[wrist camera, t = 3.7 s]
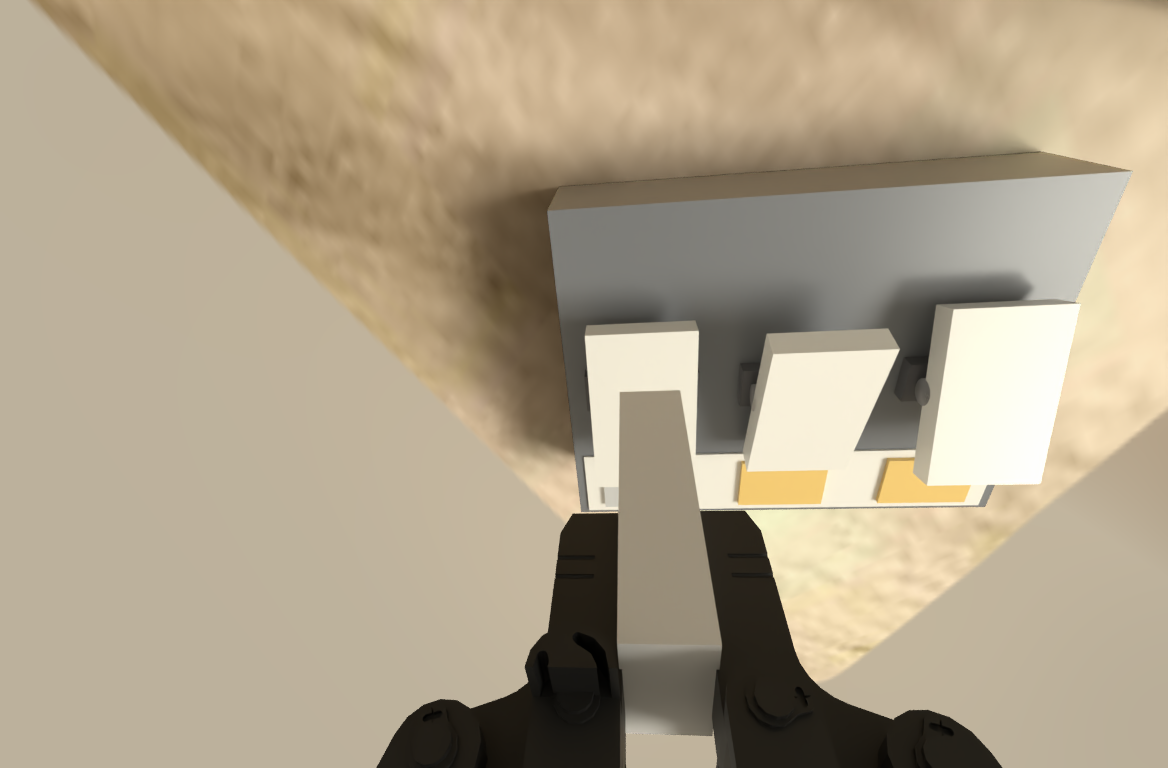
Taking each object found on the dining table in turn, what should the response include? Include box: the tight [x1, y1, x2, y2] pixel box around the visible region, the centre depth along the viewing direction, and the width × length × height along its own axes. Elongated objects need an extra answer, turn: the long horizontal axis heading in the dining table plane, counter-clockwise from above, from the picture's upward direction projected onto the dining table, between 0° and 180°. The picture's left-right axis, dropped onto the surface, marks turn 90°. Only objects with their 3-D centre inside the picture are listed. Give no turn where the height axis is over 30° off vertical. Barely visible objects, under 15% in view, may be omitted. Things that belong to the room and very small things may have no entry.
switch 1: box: [585, 320, 699, 487], centre depth 20 cm, size 6×4×2 cm, turn 4°
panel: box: [547, 152, 1133, 512], centre depth 22 cm, size 14×18×5 cm
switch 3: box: [913, 299, 1080, 486], centre depth 18 cm, size 6×4×2 cm, turn 4°
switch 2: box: [743, 328, 900, 472], centre depth 19 cm, size 6×4×2 cm, turn 5°
